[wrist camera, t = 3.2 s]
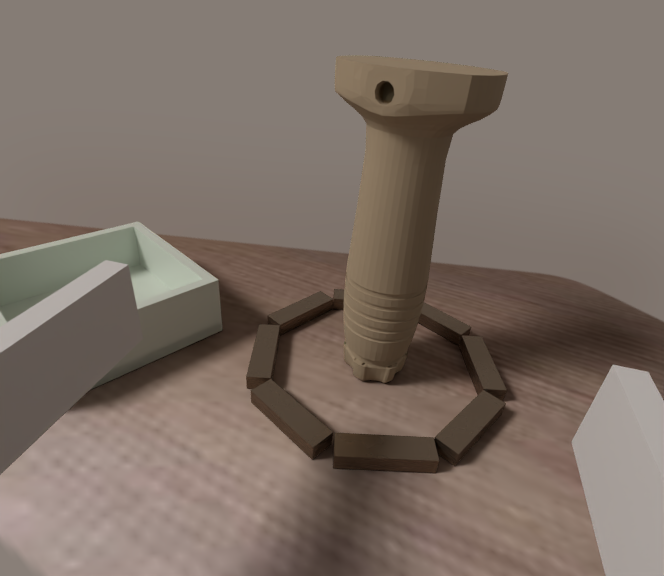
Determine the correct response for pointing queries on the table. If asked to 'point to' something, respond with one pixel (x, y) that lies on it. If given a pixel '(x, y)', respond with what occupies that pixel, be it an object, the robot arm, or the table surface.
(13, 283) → the bin
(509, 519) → the table surface
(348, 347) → the handle
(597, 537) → the robot arm
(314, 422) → the collar ring
